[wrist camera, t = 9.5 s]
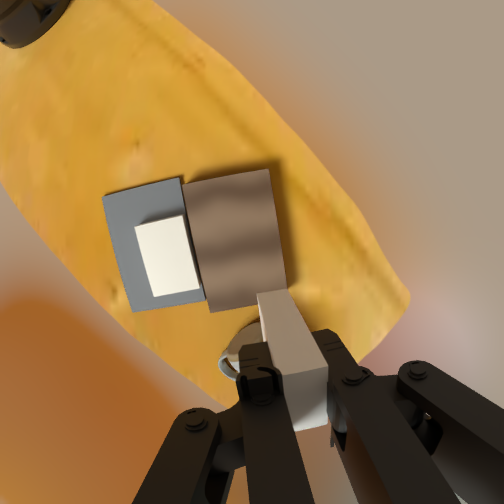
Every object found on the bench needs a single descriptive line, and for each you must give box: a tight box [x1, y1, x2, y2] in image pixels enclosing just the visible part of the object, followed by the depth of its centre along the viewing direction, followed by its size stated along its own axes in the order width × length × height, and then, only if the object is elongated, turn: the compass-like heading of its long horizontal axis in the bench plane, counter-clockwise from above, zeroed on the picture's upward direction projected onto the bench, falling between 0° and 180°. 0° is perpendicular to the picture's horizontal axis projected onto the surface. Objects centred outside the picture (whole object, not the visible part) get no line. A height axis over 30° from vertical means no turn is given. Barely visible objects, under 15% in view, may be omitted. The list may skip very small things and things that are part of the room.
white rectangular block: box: [135, 214, 201, 297], centre depth 35 cm, size 9×6×2 cm, turn 11°
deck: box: [182, 169, 288, 313], centre depth 36 cm, size 16×10×2 cm, turn 10°
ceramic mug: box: [218, 322, 264, 381], centre depth 37 cm, size 11×8×8 cm
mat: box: [102, 177, 206, 312], centre depth 36 cm, size 16×10×1 cm, turn 10°
